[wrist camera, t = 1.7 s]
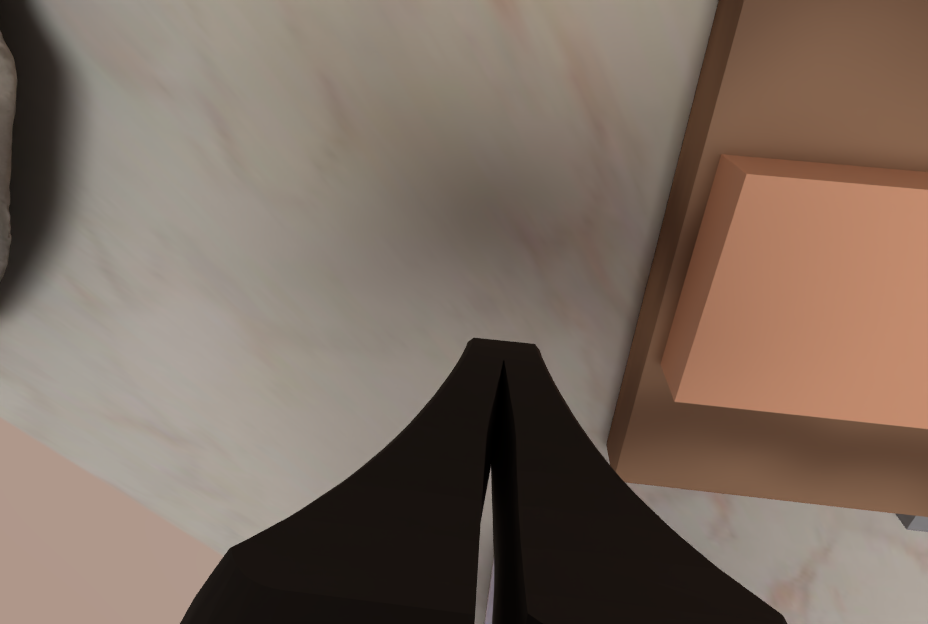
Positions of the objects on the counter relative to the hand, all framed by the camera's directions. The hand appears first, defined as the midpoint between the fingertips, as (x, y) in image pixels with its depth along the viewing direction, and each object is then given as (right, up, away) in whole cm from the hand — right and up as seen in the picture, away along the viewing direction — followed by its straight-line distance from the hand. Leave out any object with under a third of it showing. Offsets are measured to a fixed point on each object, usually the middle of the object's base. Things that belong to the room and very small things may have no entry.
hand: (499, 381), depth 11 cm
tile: (+11, +2, +5) cm, 13 cm away
